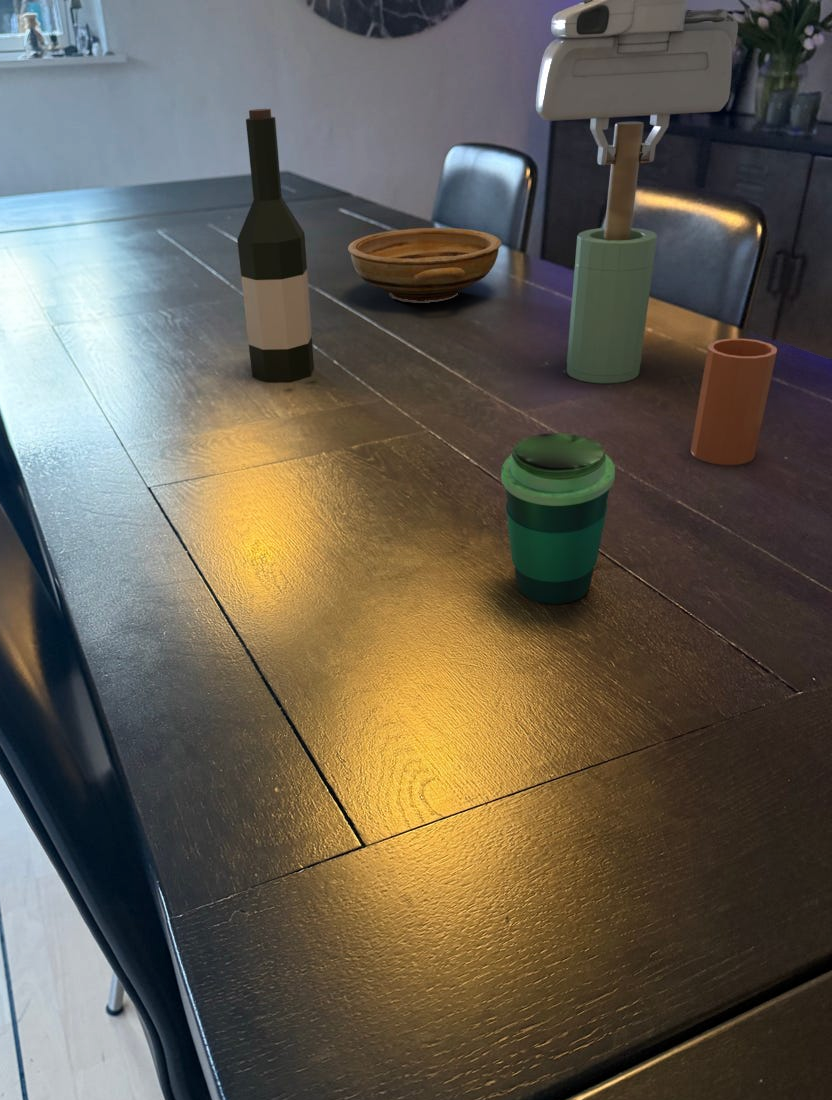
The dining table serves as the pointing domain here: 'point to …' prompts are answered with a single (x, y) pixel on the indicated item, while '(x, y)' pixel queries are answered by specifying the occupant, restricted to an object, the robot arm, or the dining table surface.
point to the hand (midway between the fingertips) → (624, 163)
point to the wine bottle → (273, 267)
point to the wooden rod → (623, 180)
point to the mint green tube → (609, 305)
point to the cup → (556, 513)
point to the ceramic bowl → (424, 261)
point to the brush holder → (732, 400)
